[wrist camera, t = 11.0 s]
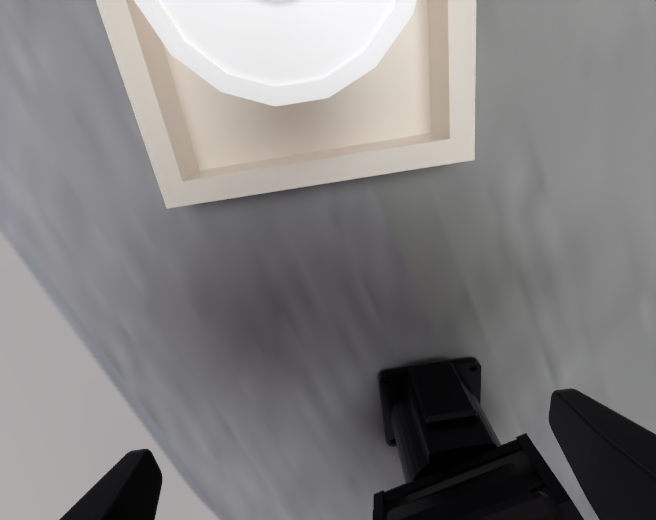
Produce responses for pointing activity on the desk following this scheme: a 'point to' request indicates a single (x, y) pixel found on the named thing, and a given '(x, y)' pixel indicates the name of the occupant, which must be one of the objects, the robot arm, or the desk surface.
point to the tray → (302, 112)
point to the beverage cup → (278, 42)
